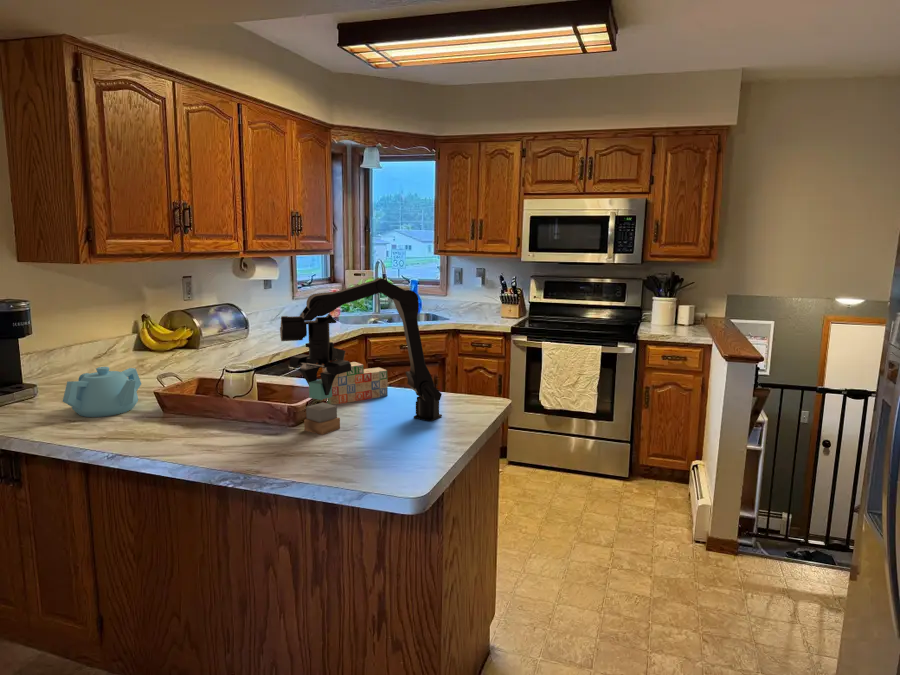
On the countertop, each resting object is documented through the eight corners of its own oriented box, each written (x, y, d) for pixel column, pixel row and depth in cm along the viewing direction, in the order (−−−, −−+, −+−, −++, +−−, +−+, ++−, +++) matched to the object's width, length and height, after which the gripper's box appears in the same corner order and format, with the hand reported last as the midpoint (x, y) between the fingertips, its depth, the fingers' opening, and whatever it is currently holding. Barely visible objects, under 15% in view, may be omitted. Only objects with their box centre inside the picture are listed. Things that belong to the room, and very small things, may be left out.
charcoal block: (337, 417, 166) (336, 406, 166) (320, 422, 161) (320, 410, 161) (323, 414, 170) (322, 402, 169) (306, 418, 165) (306, 406, 165)
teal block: (332, 396, 166) (331, 381, 165) (320, 400, 162) (320, 384, 161) (320, 394, 168) (320, 379, 167) (309, 397, 164) (308, 382, 163)
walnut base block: (340, 429, 167) (339, 417, 166) (322, 436, 161) (321, 423, 160) (322, 425, 171) (322, 413, 170) (304, 431, 165) (304, 419, 164)
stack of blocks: (379, 392, 208) (379, 358, 206) (387, 396, 202) (387, 361, 201) (322, 401, 196) (321, 365, 194) (329, 405, 191) (329, 368, 189)
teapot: (63, 421, 171) (59, 375, 169) (79, 404, 188) (75, 362, 186) (137, 415, 177) (134, 371, 175) (145, 400, 195) (142, 359, 193)
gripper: (363, 338, 164) (364, 392, 167) (315, 332, 174) (317, 383, 176) (336, 344, 155) (337, 401, 157) (287, 337, 165) (289, 391, 167)
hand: (320, 393), depth 165 cm, fingers closed on teal block, 4 cm apart
